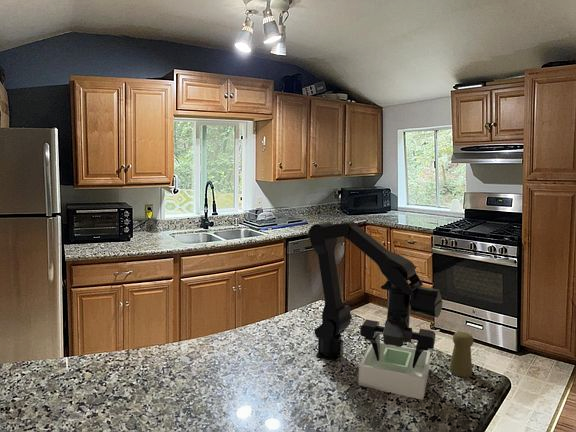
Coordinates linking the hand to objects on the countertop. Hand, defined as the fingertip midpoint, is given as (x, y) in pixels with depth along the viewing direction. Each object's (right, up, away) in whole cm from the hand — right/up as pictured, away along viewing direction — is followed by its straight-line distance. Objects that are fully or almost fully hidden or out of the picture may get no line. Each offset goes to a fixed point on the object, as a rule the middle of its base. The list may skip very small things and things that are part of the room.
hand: (395, 363), depth 112 cm
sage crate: (0, -3, 0) cm, 3 cm away
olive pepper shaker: (+19, -4, +4) cm, 20 cm away
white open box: (0, -4, +1) cm, 4 cm away
